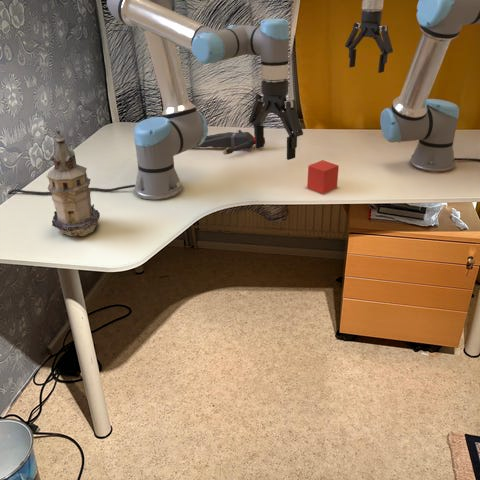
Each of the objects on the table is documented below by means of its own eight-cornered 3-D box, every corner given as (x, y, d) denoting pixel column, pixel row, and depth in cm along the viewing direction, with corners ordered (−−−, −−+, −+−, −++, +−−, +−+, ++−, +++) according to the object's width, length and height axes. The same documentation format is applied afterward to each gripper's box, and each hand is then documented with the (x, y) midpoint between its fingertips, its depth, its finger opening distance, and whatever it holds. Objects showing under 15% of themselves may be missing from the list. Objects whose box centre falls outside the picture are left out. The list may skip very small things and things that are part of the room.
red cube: (322, 194, 174) (324, 171, 170) (307, 188, 179) (308, 165, 175) (337, 188, 178) (338, 165, 174) (321, 182, 183) (322, 159, 179)
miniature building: (80, 214, 164) (63, 117, 149) (111, 225, 157) (96, 125, 142) (44, 231, 154) (22, 130, 140) (75, 244, 147) (55, 139, 133)
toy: (199, 123, 225) (269, 123, 219) (200, 137, 228) (270, 138, 222) (181, 143, 203) (259, 144, 197) (183, 159, 206) (259, 160, 200)
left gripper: (317, 84, 141) (314, 160, 151) (255, 71, 158) (256, 140, 169) (297, 88, 137) (295, 166, 147) (235, 75, 154) (238, 145, 165)
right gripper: (407, 11, 191) (399, 72, 201) (351, 6, 207) (346, 63, 217) (395, 13, 186) (388, 76, 197) (338, 8, 203) (334, 66, 213)
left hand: (274, 152), depth 158 cm, fingers open, 13 cm apart
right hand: (366, 69), depth 207 cm, fingers open, 13 cm apart
